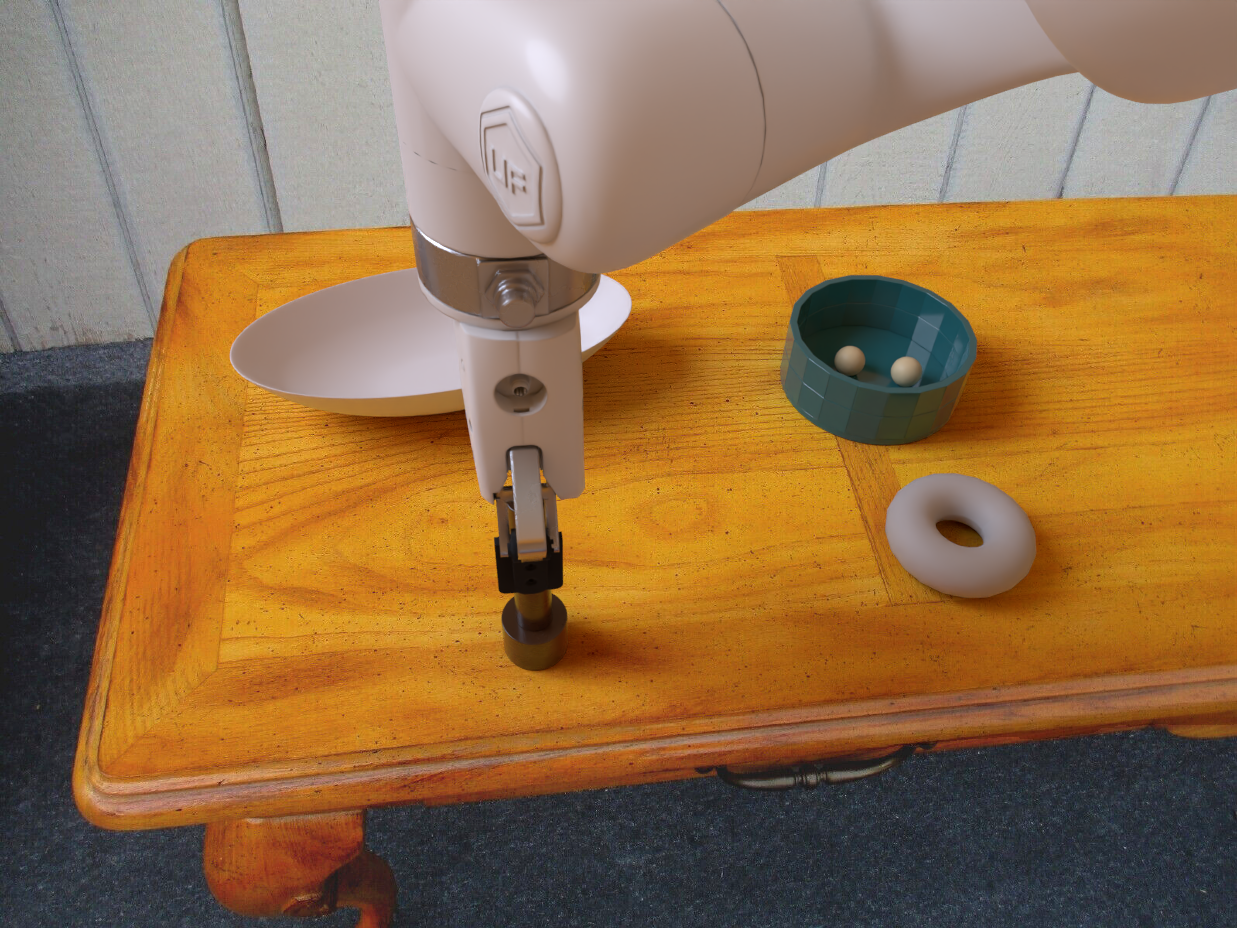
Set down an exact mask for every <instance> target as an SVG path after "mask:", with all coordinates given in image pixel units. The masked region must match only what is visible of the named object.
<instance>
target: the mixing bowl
mask: <svg viewBox="0 0 1237 928" xmlns="http://www.w3.org/2000/svg"><path fill="white" fill-rule="evenodd" d="M790 313H791V314H790V316H789V317H790V318H789V322H788V327H787V332H786V337H785V340H784V345H783V350H782V351H783V352H782V356H781V361H780V367H779V369H780V371H779V376H780V377H779V378H780V383H781V387H782V390H783V392H784V394H785V396H786V398H787V399H788V401H789V402H790V404H791V405H792V406H793V407H794V409H795V410H796V411H797V412H798V413H799V414H800V415H801V416H803V417H804V418H805V419H806V420H807V421H809V422H810V423H811V424H813V425H814V426H816V427H817V428H819V429H822V430H823V431H825V432H828V433H830V434H832V435H834V436H836V437H839V438H843V439H844V440H848V441H852V442H857V443H861V444H868V445H876V446H898V445H904V444H910V443H914V442H918V441H920V440H923V439H925V438H929V437H930V436H932V435H934V434H936V433H937V432H939V431H940V430H941V429H943V428H944V426H946V424H948V422H950V420H951V418H952V416H953V414H954V412H955V411H956V409H957V408H958V407H957V406H959V402H960V401H961V397H962V395H963V393H964V391H965V388H966V385H967V383H968V380H969V378H970V376H971V373H972V370H973V368H974V365H975V364H976V363H975V362H976V360H977V354H978V338H977V336H976V334H975V332H974V330H973V327H972V325H971V322H970V321H969V320H968V318H967V317H966V316H965V315H964V314H963V313H962V312H961V311H960V310H959V309H958V308H957V306H955V305H954V304H953V303H952V302H950V301H949V300H947V299H946V298H944V297H942V296H941V295H940V294H938V293H936V292H935V291H934V290H933V291H932V290H931V289H929V288H926V287H924V286H922V285H918V284H916V283H914V282H911V281H908V280H905V279H901V278H894V277H889V276H885V275H879V274H849V275H843V276H840V277H834V278H830V279H826V280H823V281H821V282H820V283H818V284H816V285H813V286H812V287H809V288H808V289H807V290H805V291H804V292H803V293H802V294H801V296H800V297H799V298H798V299H797V300H796V301H795V302H794V304H793V306H792V309H791V312H790ZM846 346H855V347H857V348H859V349H860V350H861V351H862V352H863V354H864V356H865V365H864V367H863V369H862V370H861V371H860V372H859V373H858V374H856V375H853V376H846V375H844V374H841V373H840V372H839V371H838V370H837V369H836V366H835V356H836V354H837V352H838V351H839V350H840V349H842V348H843V347H846ZM902 357H912V358H914V359H916V360H917V361H918V362H919V363H920V365H921V367H922V376H921V378H920V380H919V381H918V382H917V383H916V384H915V385H913V386H909V387H903V386H900V385H898V384H896V383H895V382H894V381H893V379H892V377H891V368H892V365H893V364H894V362H895V361H896V360H898V359H899V358H902Z"/></svg>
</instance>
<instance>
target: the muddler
mask: <svg viewBox="0 0 1237 928" xmlns="http://www.w3.org/2000/svg"><path fill="white" fill-rule="evenodd" d="M507 503H508V516H509V529H510V534H511V529H512V528H516V523H515V511H514V502H507ZM543 511H544V522H545V527H546V521H545V507H544V499H543ZM552 590H553V589H552ZM552 590H545V591H543V592H541V593H536V594H520V593H513V596H512V597H511V598H509V600H508V601H507V602H506V604H505V605H504V607H503V608H502V612H501V618H500V619H501V629H502V636H503V637H502V638H503V639H502V640H503V647H504V651H505V655H506V656H507V658H508V659H509V661H511V663H513V664H514V665H515V666H516V667H518V668H521V669H523V670H527V671H542V670H546V669H548V668H549V669H550V668H551V667H553V666H555V665H556V664H558V663H559V662H560V661H561V660H562V659H563V658H564V656H565V654H566V652H567V650H568V646H569V645H568V644H569V633H568V632H569V629H568V627H569V625H568V610H567V607H566V605H565V603H564V601H562V600H561V599H560V597H558V596H557V595H556V594H554V593H552V592H553V591H552Z"/></svg>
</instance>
